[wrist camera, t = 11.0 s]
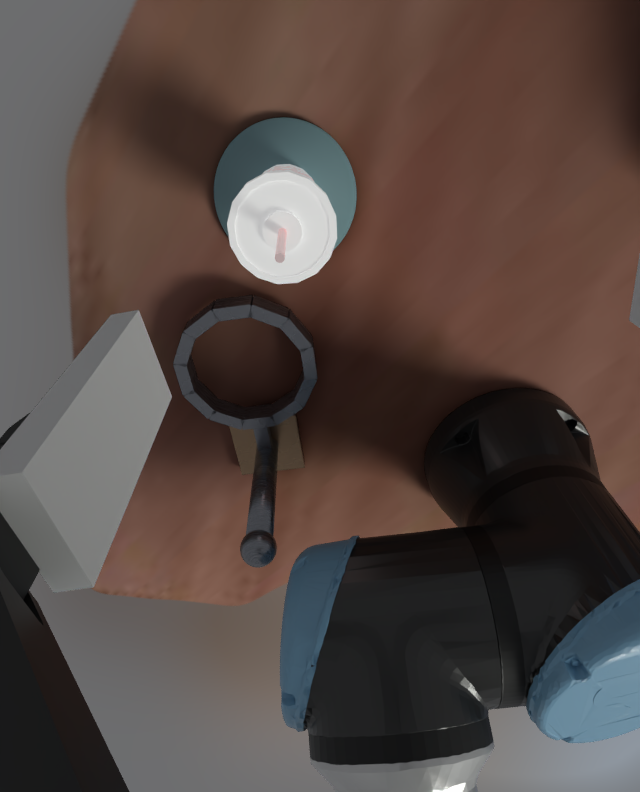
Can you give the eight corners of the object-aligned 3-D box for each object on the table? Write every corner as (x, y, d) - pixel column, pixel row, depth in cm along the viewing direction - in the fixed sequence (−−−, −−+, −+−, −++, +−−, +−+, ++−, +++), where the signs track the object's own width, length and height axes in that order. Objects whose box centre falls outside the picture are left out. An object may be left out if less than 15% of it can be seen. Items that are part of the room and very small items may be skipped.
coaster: (361, 256, 39) (361, 259, 38) (231, 273, 39) (230, 276, 39) (349, 107, 33) (349, 107, 33) (199, 128, 34) (198, 129, 33)
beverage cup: (258, 252, 38) (239, 331, 26) (229, 165, 35) (193, 209, 23) (338, 230, 37) (357, 301, 25) (317, 139, 34) (326, 171, 22)
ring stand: (330, 457, 49) (340, 582, 37) (217, 471, 49) (190, 598, 37) (305, 283, 40) (307, 372, 28) (167, 301, 40) (108, 397, 28)
